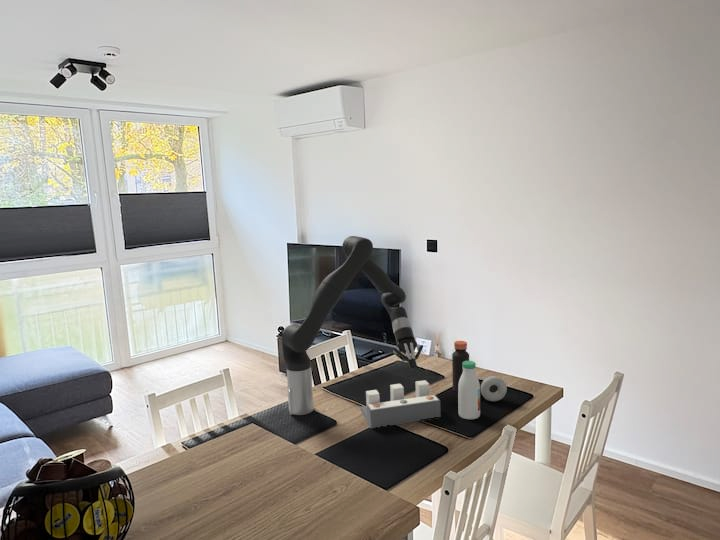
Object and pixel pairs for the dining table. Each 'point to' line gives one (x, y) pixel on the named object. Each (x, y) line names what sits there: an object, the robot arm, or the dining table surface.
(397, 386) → the key middle
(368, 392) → the key left
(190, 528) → the dining table surface
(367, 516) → the dining table surface
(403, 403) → the block
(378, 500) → the dining table surface
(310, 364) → the robot arm
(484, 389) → the donut
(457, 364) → the vinegar
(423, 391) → the key right
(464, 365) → the milk bottle
